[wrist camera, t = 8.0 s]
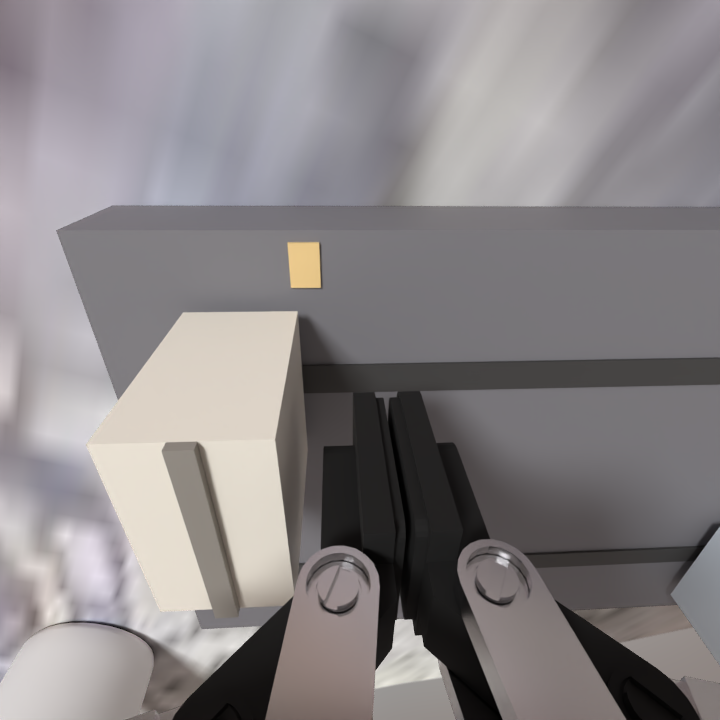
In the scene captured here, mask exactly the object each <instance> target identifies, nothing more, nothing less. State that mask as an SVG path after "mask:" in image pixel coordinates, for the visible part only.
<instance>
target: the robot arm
mask: <svg viewBox="0 0 720 720" xmlns="http://www.w3.org/2000/svg"><path fill="white" fill-rule="evenodd" d="M399 596H400V598H401V605H402V612H403V617H404V619H412V620H413V626H414V633H415V635H422V638H423V643H424V647H425V648H426V649H427V650H429V651H430V652H431V653H432V654H433V655H434V656H435V657H436V658H437V659H438V663H439V669H440V672H441V675H442V678H443V681H444V685H445V688H446V691H447V694H448V697H449V700H450V703H451V706H452V709H453V713H454V716H455V719H456V720H720V683H716V682H711V681H706V680H701V679H696V678H691V677H686V676H684V677H683V678H682V679H681V680H680V681H679V680H674V679H670V678H668V677H667V676H666V675H665V674H663V673H662V672H661V671H660V670H658V669H657V668H656V667H654V666H653V665H651V664H650V663H648V662H647V661H645V660H644V659H642V658H641V657H639V656H638V655H636V654H635V653H633V652H632V651H630V650H629V649H627V648H626V647H624V646H623V645H621V644H620V643H619V642H617V641H616V640H614V639H613V638H611V637H610V636H608V635H607V634H605V633H604V632H602V631H601V630H599V629H598V628H596V627H595V626H593V625H592V624H590V623H589V622H587V621H586V620H584V619H583V618H581V617H580V616H578V615H577V614H575V613H574V612H573V611H571V610H570V609H568V608H567V607H565V606H564V605H562V604H561V603H559V602H558V601H556V600H555V599H554V598H553V597H552V595H551V593H550V592H549V590H548V588H547V587H546V585H545V583H544V582H543V580H542V578H541V577H540V575H539V573H538V572H537V570H536V568H535V567H534V566H533V564H532V563H531V562H530V560H529V559H528V558H527V557H526V556H525V555H524V554H523V553H521V552H520V551H519V550H518V549H517V548H515V547H513V546H511V545H509V544H507V543H505V542H502V541H497V540H493V539H490V537H489V534H488V531H487V529H486V526H485V523H484V520H483V518H482V515H481V512H480V509H479V507H478V504H477V501H476V498H475V496H474V493H473V490H472V488H471V485H470V482H469V479H468V477H467V474H466V471H465V468H464V466H463V463H462V460H461V457H460V455H459V452H458V449H457V447H456V445H455V444H454V443H453V442H448V443H436V440H435V437H434V434H433V431H432V427H431V424H430V421H429V418H428V415H427V411H426V408H425V405H424V402H423V398H422V395H421V393H420V391H398V392H397V397H390V398H389V407H388V421H387V415H386V409H385V403H384V398H376V396H375V392H353V445H349V446H324V448H323V481H322V516H321V550H320V551H318V552H317V553H315V554H314V555H312V556H311V557H310V558H309V559H308V560H307V562H306V563H305V564H304V565H303V567H302V569H301V571H300V574H299V576H298V579H297V583H296V587H295V592H294V596H293V597H292V598H291V599H290V600H289V601H288V602H287V603H286V604H284V605H283V606H282V607H281V608H280V609H279V610H278V611H277V612H276V613H275V614H274V615H273V616H272V617H271V618H270V619H269V620H268V621H267V622H266V623H265V624H264V625H263V626H262V627H261V628H260V629H259V630H258V631H257V632H256V633H255V634H254V635H253V636H252V637H251V638H249V639H248V640H247V641H246V642H245V643H244V644H243V645H242V646H241V647H240V648H239V649H238V650H237V651H236V652H235V653H234V654H233V655H232V656H231V657H230V658H229V659H228V660H227V661H226V662H225V663H224V664H223V665H222V666H221V667H220V668H219V669H218V670H217V671H215V672H214V673H213V674H212V675H211V676H210V677H209V678H208V679H207V680H206V681H205V682H204V683H203V684H202V685H201V686H200V687H199V688H198V689H197V690H196V691H195V692H194V693H193V694H192V695H191V696H190V697H189V698H188V699H187V700H186V701H185V702H184V704H183V705H182V706H180V707H177V708H174V709H171V710H168V711H165V712H162V713H159V714H158V713H157V712H156V710H152V711H149V712H146V713H143V714H140V715H137V716H134V717H131V718H128V719H125V720H373V703H374V686H375V670H376V669H377V668H378V666H379V665H380V664H381V662H382V661H383V660H384V658H385V657H386V656H387V654H388V653H389V652H390V650H391V649H392V643H393V634H394V625H395V620H397V614H398V605H399Z"/></svg>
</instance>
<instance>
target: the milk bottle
mask: <svg viewBox="0 0 720 720" xmlns="http://www.w3.org/2000/svg"><path fill="white" fill-rule="evenodd" d="M153 667H154V655H153V652H152V649H151V648H150V647H149V645H148V644H147V643H146V642H145V641H143V640H142V639H141V638H139V637H137V636H136V635H134V634H132V633H130V632H127V631H125V630H122V629H119V628H115V627H112V626H107V625H101V624H94V623H66V624H58V625H54V626H50V627H47V628H45V629H42V630H40V631H38V632H37V633H36V634H34V635H33V636H32V637H31V638H30V639H28V640H27V641H26V642H25V643H24V645H23V646H22V648H21V650H20V651H19V653H18V654H17V656H16V658H15V659H14V661H13V663H12V664H11V666H10V668H9V669H8V671H7V673H6V674H5V676H4V678H3V680H2V681H1V683H0V720H125V719H128V718H131V717H134V716H137V715H139V713H140V709H141V706H142V703H143V700H144V697H145V694H146V691H147V688H148V684H149V681H150V677H151V674H152V671H153Z"/></svg>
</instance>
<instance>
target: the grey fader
mask: <svg viewBox="0 0 720 720" xmlns="http://www.w3.org/2000/svg"><path fill="white" fill-rule="evenodd" d="M670 595H671V596H672V597H673V599H674V600H675V602H676V603H677V605H678V606H679V608H680V609H681V610H682V612H683V613H684V615H685V616H686V618H687V619H688V621H689V622H690V623H691V625H692V626H693V628H694V629H695V631H696V632H697V634H698V635H699V636H700V638H701V639H702V641H703V642H704V644H705V645H706V647H707V648H708V649H709V651H710V652H711V654H712V655H713V657H714V658H715V660H716V661H717V663H718V664H719V665H720V527H719V528H718V530H717V531H716V532H715V534H714V535H713V537H712V538H711V539H710V541H709V542H708V543H707V545H706V546H705V548H704V549H703V550H702V552H701V553H700V554H699V556H698V557H697V559H696V560H695V561H694V563H693V564H692V565H691V567H690V568H689V570H688V571H687V572H686V574H685V575H684V576H683V578H682V579H681V581H680V582H679V583H678V585H677V586H676V587H675V589H674V590H673V592H672V593H671V594H670Z"/></svg>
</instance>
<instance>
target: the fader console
mask: <svg viewBox="0 0 720 720" xmlns="http://www.w3.org/2000/svg"><path fill="white" fill-rule="evenodd" d="M56 231H57V234H58V236H59V239H60V242H61V245H62V247H63V250H64V253H65V256H66V258H67V261H68V264H69V267H70V269H71V272H72V275H73V277H74V280H75V283H76V286H77V288H78V291H79V294H80V297H81V299H82V302H83V305H84V308H85V310H86V313H87V316H88V319H89V321H90V324H91V327H92V330H93V332H94V335H95V338H96V341H97V343H98V346H99V349H100V352H101V354H102V357H103V360H104V363H105V365H106V368H107V371H108V373H109V376H110V379H111V382H112V384H113V387H114V390H115V393H116V395H117V398H118V400H119V399H120V397H121V396H122V395H123V393H124V392H125V391H126V389H127V388H128V387H129V385H130V384H131V383H132V381H133V380H134V378H135V377H136V376H137V374H138V373H139V372H140V370H141V369H142V368H143V366H144V365H145V364H146V362H147V361H148V359H149V358H150V357H151V355H152V354H153V353H154V351H155V350H156V349H157V347H158V346H159V345H160V343H161V342H162V340H163V339H164V338H165V336H166V335H167V334H168V332H169V331H170V330H171V328H172V327H173V326H174V324H175V323H176V321H177V320H178V319H179V317H180V316H181V315H182V313H183V312H269V311H298V321H299V335H300V349H301V363H302V377H303V391H304V405H305V419H306V432H307V446H308V453H307V466H306V479H305V492H304V505H303V518H302V532H301V545H300V558H299V571H298V576H299V574H300V571H301V569H302V567H303V565H304V564H305V563H306V562H307V560H308V559H309V558H310V557H311V556H312V555H314V554H315V553H317V552H318V551H320V550H321V516H322V481H323V448H324V446H349V445H353V392H375V396H376V398H384V403H385V409H386V415H387V421H388V407H389V398H390V397H397V392H398V391H420V393H421V395H422V398H423V402H424V405H425V408H426V411H427V415H428V418H429V421H430V424H431V427H432V431H433V434H434V437H435V440H436V443H448V442H453V443H454V444H455V445H456V447H457V449H458V452H459V455H460V457H461V460H462V463H463V466H464V468H465V471H466V474H467V477H468V479H469V482H470V485H471V488H472V490H473V493H474V496H475V498H476V501H477V504H478V507H479V509H480V512H481V515H482V518H483V520H484V523H485V526H486V529H487V531H488V534H489V537H490V539H493V540H497V541H502V542H505V543H507V544H509V545H511V546H513V547H515V548H517V549H518V550H519V551H520V552H521V553H523V554H524V555H525V556H526V557H527V558H528V559H529V560H530V562H531V563H532V564H533V566H534V567H535V568H536V570H537V572H538V573H539V575H540V577H541V578H542V580H543V582H544V583H545V585H546V587H547V588H548V590H549V592H550V593H551V595H552V597H553V598H554V599H555V600H556V601H558V602H559V603H561V604H562V605H564V606H565V607H567V608H568V609H570V610H586V609H606V608H626V607H645V606H665V605H677V603H676V602H675V600H674V599H673V597H672V596H671V595H670V594H671V593H672V592H673V590H674V589H675V587H676V586H677V585H678V583H679V582H680V581H681V579H682V578H683V576H684V575H685V574H686V572H687V571H688V570H689V568H690V567H691V565H692V564H693V563H694V561H695V560H696V559H697V557H698V556H699V554H700V553H701V552H702V550H703V549H704V548H705V546H706V545H707V543H708V542H709V541H710V539H711V538H712V537H713V535H714V534H715V532H716V531H717V530H718V528H719V527H720V207H453V206H111V207H108V208H106V209H104V210H101V211H99V212H97V213H95V214H92V215H90V216H88V217H86V218H83V219H81V220H79V221H77V222H74V223H72V224H70V225H68V226H65V227H63V228H61V229H58V230H56ZM281 607H282V606H269V607H249V608H240V611H239V616H238V617H233V618H215V616H214V613H213V610H212V609H207V610H195V612H196V615H197V618H198V620H199V623H200V626H201V629H212V628H232V627H251V626H263V625H264V624H265V623H266V622H267V621H268V620H269V619H270V618H271V617H272V616H273V615H274V614H275V613H276V612H277V611H278V610H279V609H280V608H281ZM397 619H404V617H403V612H402V605H401V598H400V596H399V605H398V614H397Z"/></svg>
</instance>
